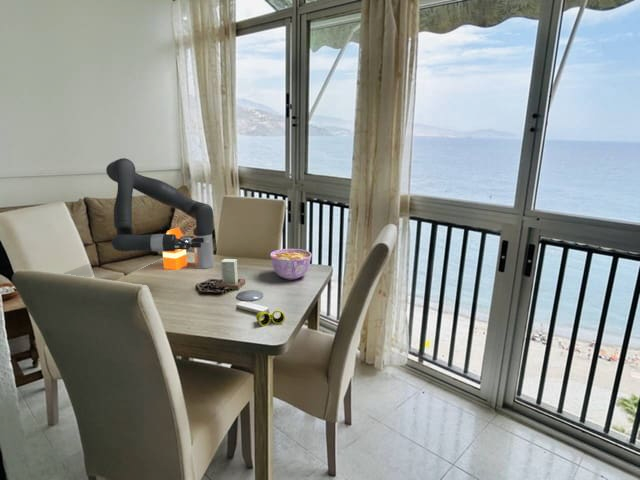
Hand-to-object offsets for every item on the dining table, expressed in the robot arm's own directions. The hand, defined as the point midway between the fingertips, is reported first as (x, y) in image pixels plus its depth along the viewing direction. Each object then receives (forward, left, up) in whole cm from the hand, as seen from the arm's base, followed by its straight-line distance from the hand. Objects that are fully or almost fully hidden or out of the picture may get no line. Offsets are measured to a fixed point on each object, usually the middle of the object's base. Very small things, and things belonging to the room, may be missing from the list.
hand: (202, 242), depth 173 cm
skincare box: (-4, +11, -21) cm, 24 cm away
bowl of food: (-22, +35, -21) cm, 46 cm away
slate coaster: (+6, +24, -20) cm, 32 cm away
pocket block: (-4, +11, -20) cm, 23 cm away
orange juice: (-24, -27, -21) cm, 42 cm away
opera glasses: (+28, +39, -21) cm, 53 cm away
